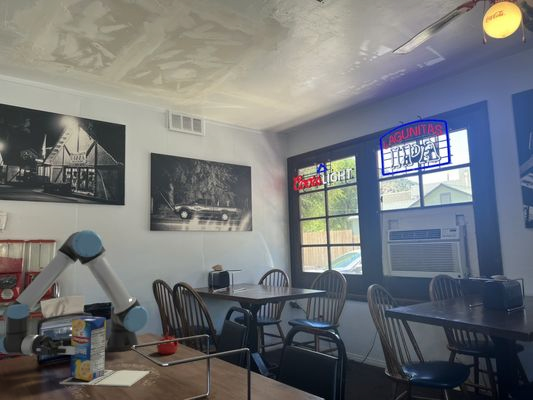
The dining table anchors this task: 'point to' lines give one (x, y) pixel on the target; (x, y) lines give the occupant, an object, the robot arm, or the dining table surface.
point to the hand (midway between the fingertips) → (85, 346)
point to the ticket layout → (114, 378)
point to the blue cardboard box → (88, 347)
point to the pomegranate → (167, 346)
